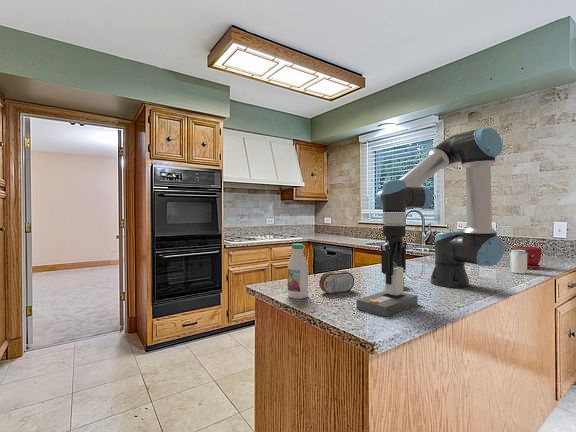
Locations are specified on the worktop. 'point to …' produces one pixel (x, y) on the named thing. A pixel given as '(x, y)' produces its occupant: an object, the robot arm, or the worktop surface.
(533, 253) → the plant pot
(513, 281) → the worktop surface
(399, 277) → the block
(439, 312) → the worktop surface
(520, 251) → the can
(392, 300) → the power strip
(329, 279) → the tin
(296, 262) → the milk bottle
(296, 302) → the worktop surface
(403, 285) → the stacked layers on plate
